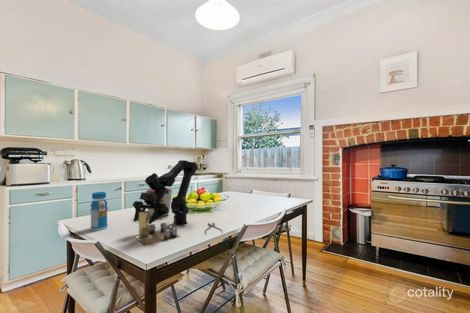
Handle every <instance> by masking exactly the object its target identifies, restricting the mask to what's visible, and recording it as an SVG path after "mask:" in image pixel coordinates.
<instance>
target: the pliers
mask: <svg viewBox="0 0 470 313" xmlns="http://www.w3.org/2000/svg"><path fill="white" fill-rule="evenodd" d="M207 226H208V227H207V228H206V229H205V230H204V234H205V235H207V231H209V230H210V229H211V228H213V229H217V230H219V231H220V232H221V233H222V234H223V232H224V231H223V229H221V228H219V227H216V223H215V222H212V224H211V223H210V222H208V223H207Z"/></svg>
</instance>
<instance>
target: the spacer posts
mask: <svg viewBox="0 0 470 313" xmlns="http://www.w3.org/2000/svg"><path fill="white" fill-rule="evenodd" d="M167 224H168V223H167V222H161V223H160V230H161V232H164V239H165V240H166V241H169V240H168V239H170V238H174V237H177V235H178V228H177V227H174V226H173V225H171V224H170V225H167ZM155 231H156V224H154V223H151V224H149V234H154V233H155ZM174 239H175V238H174ZM170 240H171V239H170Z"/></svg>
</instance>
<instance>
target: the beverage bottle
mask: <svg viewBox="0 0 470 313" xmlns="http://www.w3.org/2000/svg"><path fill="white" fill-rule="evenodd" d="M91 197H92V198H91V199H92V201H91V203H90V211H89V212H90V230H91V231H102V230H104V229H107V228H108V226H109V224H108V210H109V208H108V201H107V200H106V198H107V192H106V191H96V192H92V194H91Z"/></svg>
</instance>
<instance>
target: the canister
mask: <svg viewBox="0 0 470 313" xmlns="http://www.w3.org/2000/svg"><path fill="white" fill-rule="evenodd" d="M166 189H168V191H169V194H165V195H164V197H163V198H162V200H163V202H160V203H164V204H165V205H166V206H167V207H168V208H169V211H168V213H167V214H165V215H163V216H162V217H165V216H167V215H169V214H170V212H171V202H172V192H173V190H172V189H171V188H169V187H166ZM151 192H154V190H151V188H149V189H147V190H145V191H144V193H151ZM147 211H149V217H152V215H153V213H154V209H147Z"/></svg>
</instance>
